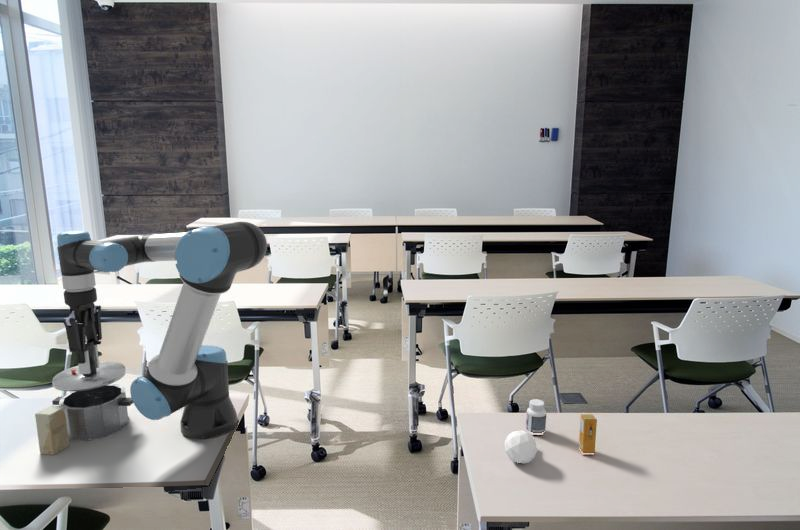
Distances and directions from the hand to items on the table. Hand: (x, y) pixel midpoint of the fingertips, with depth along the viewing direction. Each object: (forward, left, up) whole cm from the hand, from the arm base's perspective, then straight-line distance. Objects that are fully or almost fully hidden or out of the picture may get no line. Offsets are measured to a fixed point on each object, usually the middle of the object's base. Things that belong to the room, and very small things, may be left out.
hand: (89, 370), depth 146 cm
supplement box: (-135, +10, -17) cm, 137 cm away
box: (+3, +13, -17) cm, 21 cm away
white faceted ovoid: (-118, +13, -17) cm, 120 cm away
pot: (0, 0, -17) cm, 17 cm away
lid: (0, 0, -2) cm, 2 cm away
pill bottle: (-124, 0, -17) cm, 125 cm away
